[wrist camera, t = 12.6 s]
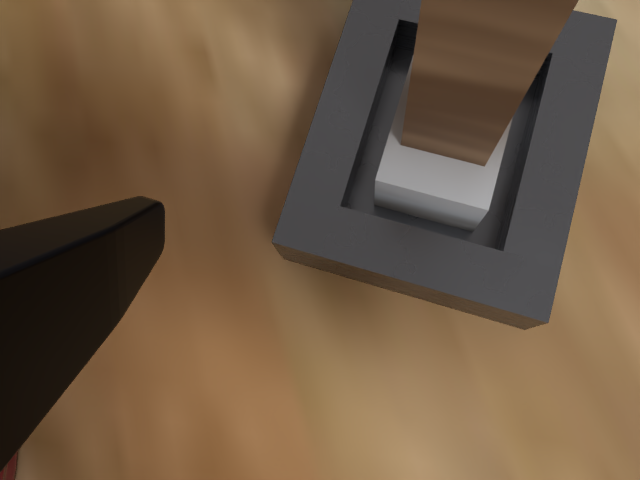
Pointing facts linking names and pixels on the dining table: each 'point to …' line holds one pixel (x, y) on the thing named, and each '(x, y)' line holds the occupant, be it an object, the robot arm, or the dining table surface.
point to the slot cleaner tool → (463, 104)
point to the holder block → (425, 235)
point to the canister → (9, 469)
